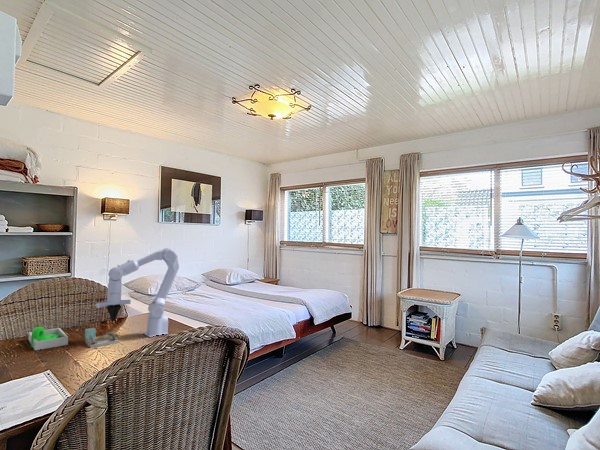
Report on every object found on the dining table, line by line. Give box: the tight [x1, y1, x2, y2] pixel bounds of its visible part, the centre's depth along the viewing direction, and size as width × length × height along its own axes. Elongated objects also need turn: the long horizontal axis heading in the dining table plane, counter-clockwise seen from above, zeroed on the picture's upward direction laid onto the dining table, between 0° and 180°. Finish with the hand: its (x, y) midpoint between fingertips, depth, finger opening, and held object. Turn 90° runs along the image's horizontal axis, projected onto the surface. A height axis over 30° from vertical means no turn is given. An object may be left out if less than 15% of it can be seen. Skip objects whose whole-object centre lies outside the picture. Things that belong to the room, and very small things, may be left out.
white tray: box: [27, 327, 69, 351], centre depth 147 cm, size 12×18×4 cm, turn 47°
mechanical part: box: [30, 326, 60, 348], centre depth 147 cm, size 12×6×8 cm, turn 7°
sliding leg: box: [84, 327, 97, 343], centre depth 148 cm, size 4×7×5 cm, turn 47°
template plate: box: [86, 338, 120, 349], centre depth 148 cm, size 12×5×1 cm, turn 137°
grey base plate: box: [84, 331, 119, 345], centre depth 151 cm, size 13×7×3 cm, turn 137°
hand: (112, 320), depth 156 cm, fingers closed
